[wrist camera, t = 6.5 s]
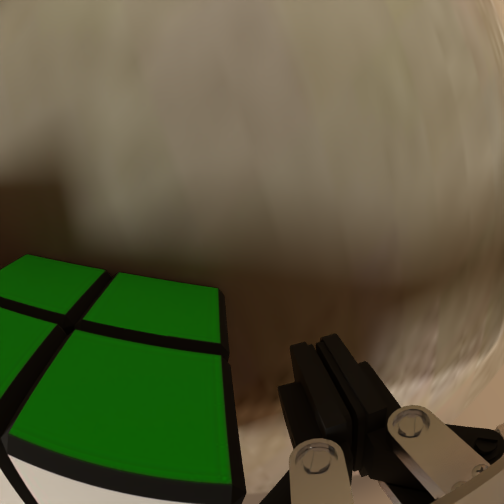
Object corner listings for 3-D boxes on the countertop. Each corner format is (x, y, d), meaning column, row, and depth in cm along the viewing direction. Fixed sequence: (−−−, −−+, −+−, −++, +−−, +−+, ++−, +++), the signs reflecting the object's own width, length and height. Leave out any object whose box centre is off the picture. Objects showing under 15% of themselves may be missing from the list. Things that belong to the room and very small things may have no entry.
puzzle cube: (46, 403, 14) (-10, 524, 5) (24, 250, 12) (-125, 353, 2) (200, 436, 16) (204, 586, 6) (225, 286, 14) (252, 498, 4)
